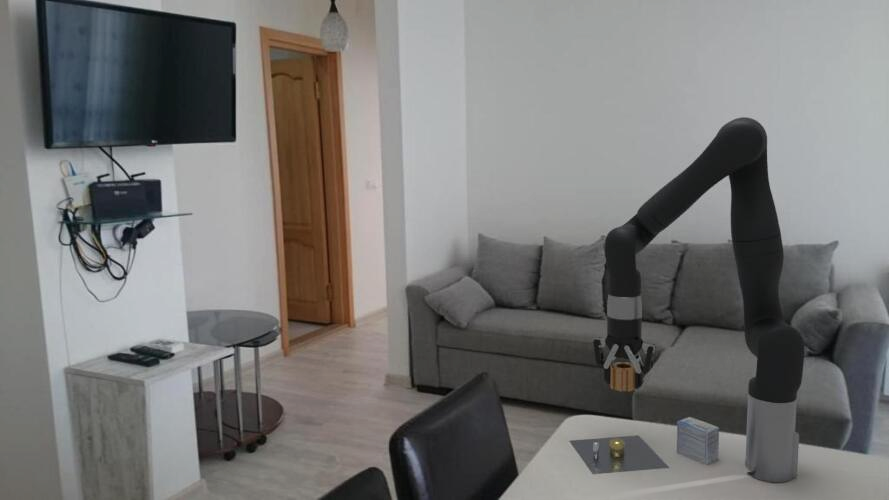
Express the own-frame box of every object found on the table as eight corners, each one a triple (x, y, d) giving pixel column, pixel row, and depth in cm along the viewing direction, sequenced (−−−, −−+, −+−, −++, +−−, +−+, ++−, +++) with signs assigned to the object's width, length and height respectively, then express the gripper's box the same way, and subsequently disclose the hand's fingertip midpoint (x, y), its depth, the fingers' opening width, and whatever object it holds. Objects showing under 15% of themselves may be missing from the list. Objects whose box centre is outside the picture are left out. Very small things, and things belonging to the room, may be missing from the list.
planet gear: (629, 381, 163) (629, 360, 163) (642, 390, 158) (642, 368, 157) (605, 384, 162) (605, 363, 161) (617, 392, 156) (617, 371, 156)
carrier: (638, 440, 167) (638, 421, 166) (669, 472, 150) (669, 452, 150) (569, 445, 165) (569, 426, 164) (592, 479, 148) (592, 458, 148)
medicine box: (718, 464, 154) (720, 426, 152) (706, 470, 151) (707, 432, 150) (688, 452, 160) (689, 415, 159) (675, 457, 158) (676, 420, 156)
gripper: (587, 314, 158) (587, 385, 160) (651, 321, 150) (650, 396, 153) (599, 307, 164) (598, 376, 167) (661, 313, 157) (659, 385, 159)
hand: (623, 385), depth 160 cm, fingers closed on planet gear, 6 cm apart
